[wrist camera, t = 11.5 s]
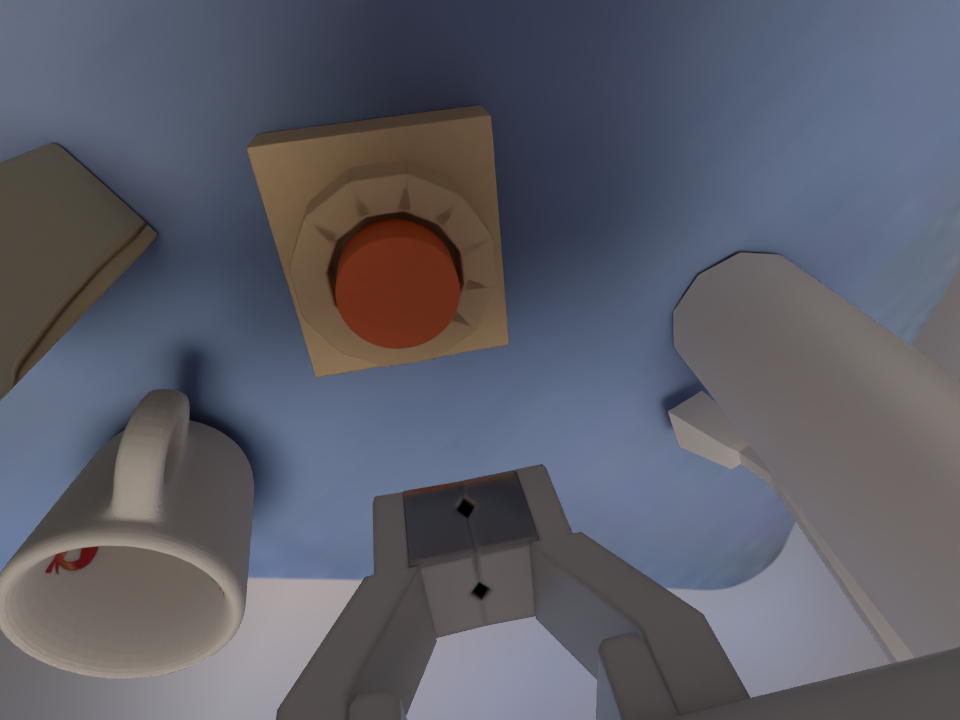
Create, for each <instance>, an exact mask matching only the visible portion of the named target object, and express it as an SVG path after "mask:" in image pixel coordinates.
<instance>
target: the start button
mask: <svg viewBox="0 0 960 720" xmlns="http://www.w3.org/2000/svg"><path fill="white" fill-rule="evenodd" d="M335 296H336V303H337V307H338V310H339V313H340V315H341V317H342V319H343V320H344V322H345V323H346V324H347V326H348V327H349V328H350V329H351V330H352V331H353V332H354V333H355V334H356V335H358V336H359V337H361V338H362V339H364V340H365V341H367V342H369V343H371V344H374V345H377V346H380V347H385V348H392V349H403V348H411V347H415V346H418V345H421V344H424V343H426V342H428V341H430V340H432V339H433V338H435V337H436V336H438V335H439V334H440V333H441V332H443V330H444V329H445V328H446V327H447V326H448V325H449V324H450V322H451V321H452V319H453V317H454V316H455V314H456V311H457V309H458V305H459V301H460V283H459V278H458V275H457V272H456V269H455V266H454V263H453V260H452V257H451V254H450V252H449V250H448V248H447V246H446V245H445V243H444V242H443V241H442V240H441V238H440V237H439V236H438V235H437V234H435V233H434V232H433V231H432V230H430V229H429V228H427V227H425V226H423V225H421V224H419V223H416V222H413V221H410V220H404V219H386V220H382V221H378V222H375V223H372V224H370V225H368V226H366V227H364V228H362V229H361V230H359V231H358V232H357V233H356V234H355V235H353V236H352V237H351V239H350V240H349V241H348V242H347V244H346V245H345V247H344V248H343V250H342V253H341V255H340V258H339V262H338V269H337V279H336V288H335Z"/></svg>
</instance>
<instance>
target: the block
mask: <svg viewBox="0 0 960 720" xmlns="http://www.w3.org/2000/svg"><path fill="white" fill-rule="evenodd" d="M246 149H247V152H248V155H249V159H250V162H251V165H252V169H253V172H254V175H255V178H256V182H257V185H258V188H259V192H260V195H261V198H262V201H263V205H264V208H265V211H266V215H267V218H268V221H269V225H270V228H271V231H272V234H273V238H274V241H275V244H276V248H277V251H278V254H279V257H280V261H281V264H282V267H283V271H284V274H285V277H286V280H287V284H288V287H289V290H290V294H291V297H292V300H293V304H294V307H295V310H296V313H297V317H298V320H299V323H300V327H301V330H302V333H303V336H304V340H305V343H306V346H307V350H308V353H309V356H310V360H311V363H312V366H313V369H314V373H315V376H316V377H323V376H329V375H334V374H340V373H346V372H352V371H358V370H364V369H370V368H375V367H381V366H388V365H389V366H395V365H401V364H407V363H413V362H419V361H425V360H431V359H436V358H438V357H440V356H446V355H452V354H457V353H463V352H469V351H475V350H481V349H487V348H493V347H498V346H504V345H509V338H508V325H507V312H506V300H505V287H504V274H503V261H502V249H501V236H500V223H499V211H498V198H497V185H496V172H495V160H494V147H493V134H492V122H491V115H490V114H489V113H488V112H487V111H486V110H485V109H483V108H482V107H481V106H480V105H476V106H468V107H460V108H453V109H445V110H438V111H430V112H422V113H415V114H407V115H400V116H392V117H384V118H377V119H369V120H362V121H354V122H346V123H339V124H331V125H323V126H316V127H308V128H301V129H293V130H285V131H278V132H270V133H263V134H257V135H256V136H255V138H254V139H253V140H252V141H251V143H250V144H249V145H248V146H247V148H246ZM386 219H404V220H410V221H413V222H416V223H419V224H421V225H423V226H425V227H427V228H429V229H430V230H432V231H433V232H434V233H435V234H437V235H438V236H439V237H440V238H441V240H442V241H443V242H444V243H445V245H446V246H447V248H448V250H449V252H450V254H451V257H452V260H453V263H454V266H455V269H456V272H457V275H458V278H459V283H460V301H459V305H458V309H457V311H456V314H455V316H454V317H453V319H452V321H451V322H450V324H449V325H448V326H447V327H446V328H445V329H444V330H443V332H441V333H440V334H439V335H438V336H436V337H435V338H433V339H432V340H430V341H428V342H426V343H424V344H421V345H418V346H415V347H411V348H403V349H392V348H385V347H380V346H377V345H374V344H371V343H369V342H367V341H365V340H364V339H362V338H361V337H359V336H358V335H356V334H355V333H354V332H353V331H352V330H351V329H350V328H349V327H348V326H347V324H346V323H345V322H344V320H343V319H342V317H341V315H340V313H339V310H338V307H337V303H336V296H335V288H336V279H337V269H338V262H339V258H340V255H341V253H342V250H343V248H344V247H345V245H346V244H347V242H348V241H349V240H350V239H351V237H352V236H353V235H355V234H356V233H357V232H358V231H359V230H361V229H362V228H364V227H366V226H368V225H370V224H372V223H375V222H378V221H382V220H386Z"/></svg>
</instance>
